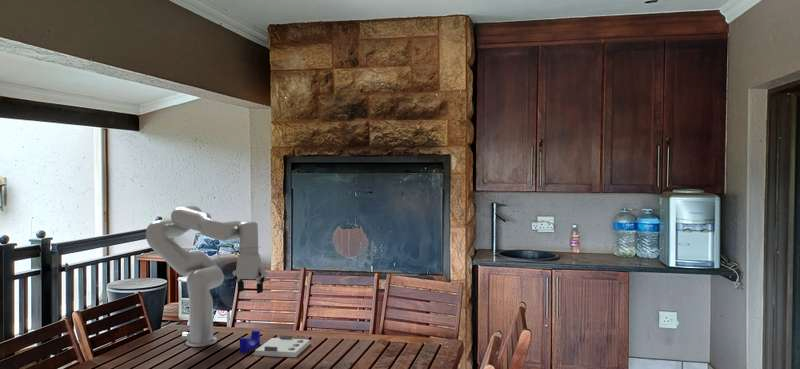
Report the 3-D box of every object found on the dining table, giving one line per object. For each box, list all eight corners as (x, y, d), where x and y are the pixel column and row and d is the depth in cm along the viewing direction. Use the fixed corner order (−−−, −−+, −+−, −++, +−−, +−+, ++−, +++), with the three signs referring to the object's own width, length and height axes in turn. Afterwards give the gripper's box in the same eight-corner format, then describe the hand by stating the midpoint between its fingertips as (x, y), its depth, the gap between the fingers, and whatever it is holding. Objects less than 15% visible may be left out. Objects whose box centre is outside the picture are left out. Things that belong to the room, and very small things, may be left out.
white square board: (255, 355, 216) (255, 346, 216) (271, 342, 233) (271, 334, 233) (295, 357, 213) (295, 348, 213) (309, 344, 230) (309, 336, 230)
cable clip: (250, 344, 231) (250, 330, 231) (259, 344, 231) (259, 330, 231) (236, 353, 220) (236, 338, 220) (246, 353, 219) (246, 338, 219)
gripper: (226, 251, 225) (227, 292, 226) (260, 253, 219) (261, 295, 219) (238, 249, 232) (239, 289, 232) (271, 250, 226) (273, 291, 226)
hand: (250, 292), depth 226 cm, fingers open, 9 cm apart
